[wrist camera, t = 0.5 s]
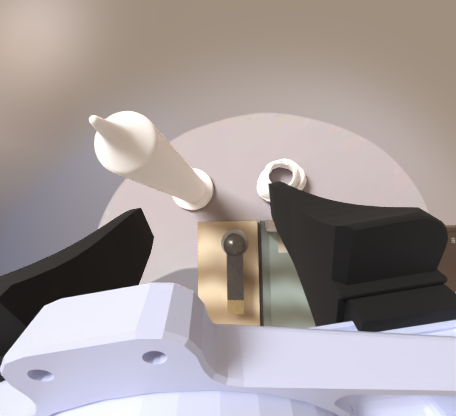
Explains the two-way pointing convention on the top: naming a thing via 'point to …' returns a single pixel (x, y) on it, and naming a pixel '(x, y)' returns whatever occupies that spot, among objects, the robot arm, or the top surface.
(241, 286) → the bar
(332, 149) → the top surface
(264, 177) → the white curved piece
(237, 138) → the top surface
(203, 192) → the candle
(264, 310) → the door and jamb
